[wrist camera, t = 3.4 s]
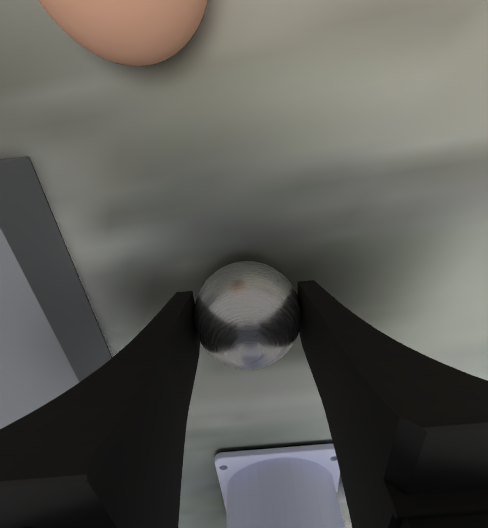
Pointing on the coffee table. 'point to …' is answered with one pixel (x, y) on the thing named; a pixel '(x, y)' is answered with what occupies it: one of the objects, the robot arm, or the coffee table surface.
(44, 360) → the grey square frame
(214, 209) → the coffee table surface
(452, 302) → the coffee table surface
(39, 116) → the coffee table surface
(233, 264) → the steel ball
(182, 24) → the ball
